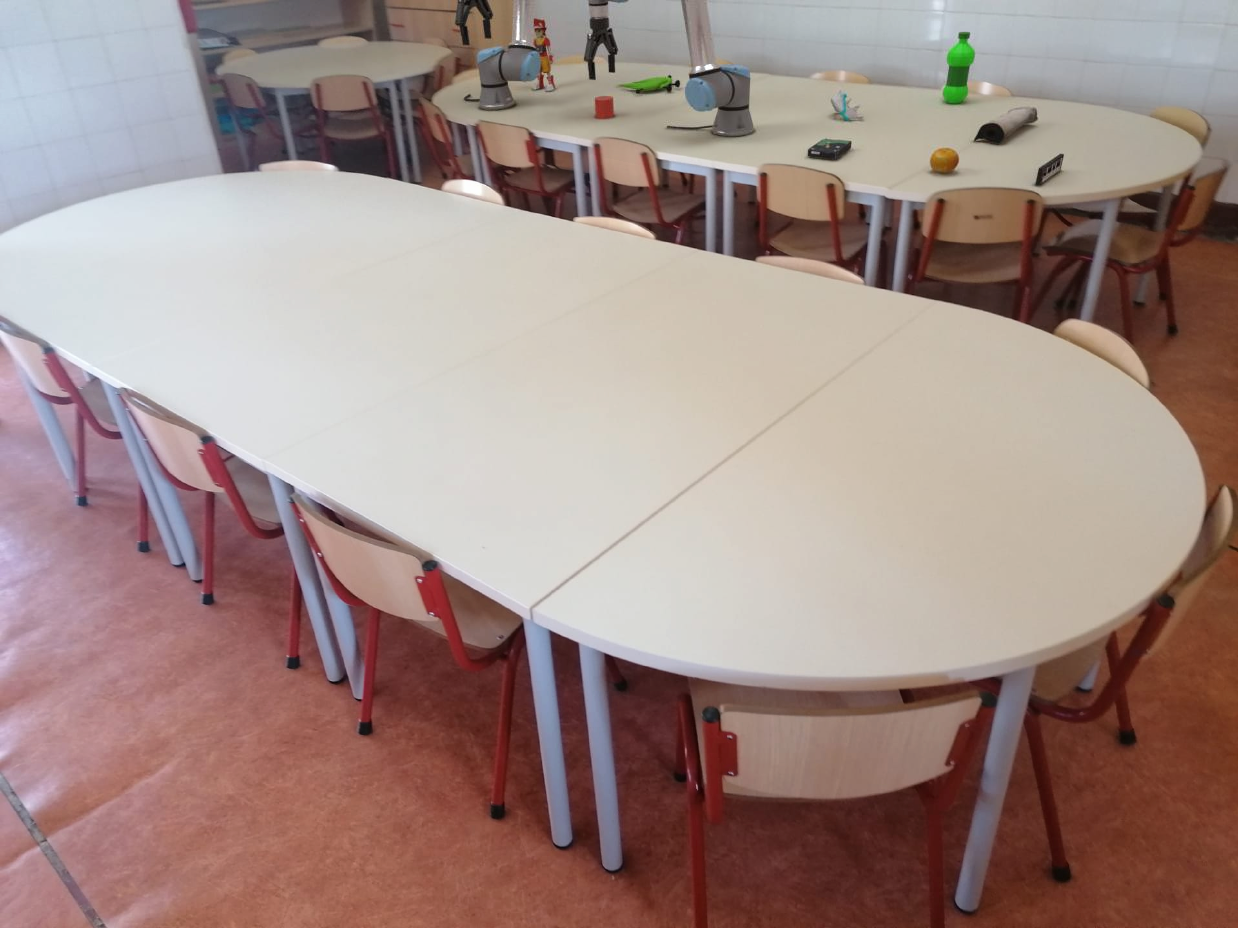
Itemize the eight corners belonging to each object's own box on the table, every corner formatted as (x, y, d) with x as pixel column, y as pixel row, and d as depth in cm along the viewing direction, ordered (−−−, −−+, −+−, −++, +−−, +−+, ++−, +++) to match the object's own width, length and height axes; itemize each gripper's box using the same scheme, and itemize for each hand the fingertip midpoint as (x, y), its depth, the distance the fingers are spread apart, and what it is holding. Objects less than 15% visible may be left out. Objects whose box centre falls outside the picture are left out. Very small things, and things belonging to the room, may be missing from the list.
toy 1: (527, 91, 410) (520, 18, 393) (536, 86, 417) (529, 15, 400) (551, 91, 406) (544, 19, 389) (559, 87, 413) (553, 15, 396)
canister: (599, 119, 361) (598, 101, 357) (593, 115, 367) (591, 97, 363) (616, 117, 364) (615, 98, 359) (610, 113, 369) (609, 95, 365)
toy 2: (689, 81, 403) (635, 80, 419) (688, 69, 400) (634, 69, 416) (655, 100, 386) (600, 99, 403) (654, 88, 383) (598, 87, 400)
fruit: (924, 163, 281) (941, 140, 278) (925, 165, 289) (941, 143, 286) (946, 178, 280) (963, 155, 277) (947, 180, 288) (963, 158, 285)
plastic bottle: (973, 101, 354) (984, 32, 339) (955, 106, 349) (966, 36, 335) (952, 97, 361) (962, 29, 346) (934, 102, 356) (944, 33, 342)
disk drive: (836, 161, 300) (851, 148, 310) (836, 152, 298) (852, 140, 308) (806, 157, 305) (822, 145, 315) (807, 149, 303) (823, 137, 313)
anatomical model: (825, 90, 346) (851, 83, 346) (828, 117, 352) (853, 110, 352) (836, 99, 334) (863, 92, 333) (839, 127, 340) (865, 120, 339)
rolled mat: (1005, 112, 327) (1029, 94, 319) (1019, 133, 327) (1043, 116, 319) (969, 134, 310) (993, 117, 301) (984, 157, 310) (1008, 139, 302)
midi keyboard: (1039, 185, 269) (1043, 168, 266) (1035, 184, 270) (1038, 168, 267) (1060, 170, 279) (1064, 154, 277) (1056, 169, 280) (1060, 153, 277)
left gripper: (455, -16, 319) (464, 48, 332) (497, -26, 337) (504, 36, 349) (439, -17, 323) (448, 47, 335) (481, -26, 340) (489, 35, 352)
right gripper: (609, 11, 355) (612, 69, 367) (572, 22, 338) (576, 82, 350) (625, 12, 351) (627, 70, 363) (588, 23, 334) (591, 83, 347)
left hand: (477, 42), depth 342 cm, fingers open, 13 cm apart
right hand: (602, 76), depth 357 cm, fingers open, 13 cm apart
